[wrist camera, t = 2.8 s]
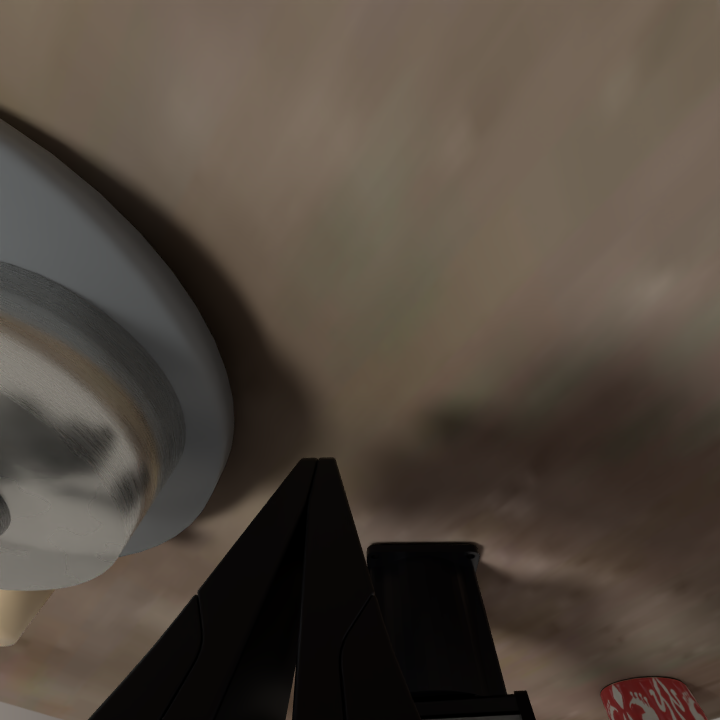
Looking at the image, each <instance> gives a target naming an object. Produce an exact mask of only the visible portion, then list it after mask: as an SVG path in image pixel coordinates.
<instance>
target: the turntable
mask: <svg viewBox="0 0 720 720" xmlns="http://www.w3.org/2000/svg"><path fill="white" fill-rule="evenodd" d="M0 262H4V263H8V264H11V265H13V266H16V267H19V268H22V269H24V270H27V271H30V272H33V273H35V274H37V275H40V276H42V277H44V278H46V279H48V280H50V281H52V282H55V283H57V284H59V285H61V286H63V287H64V288H66V289H68V290H70V291H71V292H73V293H75V294H77V295H78V296H80V297H82V298H83V299H85V300H87V301H88V302H90V303H91V304H92V305H94V306H95V307H97V308H98V309H100V310H101V311H103V312H104V313H105V314H107V315H108V316H109V317H111V318H112V319H113V320H114V321H115V322H117V323H118V324H119V325H120V326H121V327H123V328H124V329H125V330H126V331H127V332H129V333H130V334H131V335H132V336H133V337H134V338H135V339H136V340H137V341H138V342H139V343H140V344H141V345H142V346H143V347H144V348H145V349H146V351H147V352H148V353H149V354H150V355H151V357H152V358H153V359H154V360H155V362H156V363H157V364H158V365H159V366H160V368H161V369H162V371H163V372H164V374H165V376H166V377H167V379H168V380H169V382H170V383H171V385H172V387H173V389H174V391H175V393H176V395H177V397H178V399H179V402H180V405H181V408H182V411H183V414H184V420H185V426H186V442H185V447H184V452H183V455H182V457H181V459H180V461H179V464H178V465H177V467H176V468H175V470H174V471H173V473H172V474H171V476H170V477H169V479H168V481H167V482H166V484H165V485H164V487H163V488H162V490H161V491H160V493H159V495H158V496H157V498H156V499H155V501H154V502H153V504H152V505H151V507H150V508H149V510H148V512H147V513H146V515H145V516H144V518H143V519H142V521H141V522H140V524H139V526H138V527H137V529H136V530H135V532H134V533H133V535H132V536H131V538H130V539H129V541H128V543H127V544H126V546H125V547H124V549H123V550H122V552H121V553H120V555H119V557H121V556H126V555H130V554H134V553H139V552H142V551H144V550H147V549H150V548H153V547H155V546H158V545H160V544H162V543H164V542H166V541H168V540H169V539H171V538H173V537H175V536H176V535H178V534H179V533H180V532H182V531H183V530H184V529H186V528H187V527H188V526H189V525H190V524H191V523H192V522H193V521H194V520H195V519H196V518H197V517H198V515H199V514H200V513H201V512H202V511H203V509H204V507H205V505H206V504H207V502H208V500H209V498H210V496H211V495H212V493H213V491H214V489H215V486H216V484H217V482H218V480H219V478H220V476H221V474H222V472H223V470H224V468H225V466H226V463H227V460H228V457H229V454H230V451H231V447H232V442H233V433H234V424H235V423H234V408H233V397H232V393H231V389H230V384H229V380H228V376H227V371H226V369H225V366H224V364H223V361H222V358H221V356H220V353H219V351H218V348H217V345H216V343H215V340H214V338H213V336H212V335H211V333H210V331H209V329H208V327H207V325H206V323H205V322H204V320H203V318H202V316H201V314H200V312H199V310H198V308H197V307H196V305H195V304H194V302H193V301H192V299H191V298H190V296H189V295H188V293H187V292H186V291H185V289H184V288H183V286H182V285H181V283H180V282H179V280H178V279H177V277H176V276H175V275H174V273H173V272H172V270H171V269H170V268H169V267H168V265H167V264H166V263H165V262H164V261H163V260H162V258H161V257H160V256H159V255H158V254H157V252H156V251H155V250H154V249H153V248H152V246H151V245H150V244H149V243H148V242H147V241H146V239H145V238H144V237H143V236H142V235H141V233H140V232H139V231H138V230H137V229H136V228H135V227H134V226H133V225H132V224H131V223H130V222H129V221H128V220H127V219H126V218H125V217H123V216H122V215H121V214H120V213H119V212H118V211H117V210H116V209H115V208H114V207H113V206H112V205H111V204H110V203H109V202H108V201H107V200H106V199H105V198H104V197H103V196H102V195H101V194H100V193H99V192H98V191H97V190H95V189H94V188H93V187H92V186H90V185H89V184H88V183H87V182H86V181H84V180H83V179H82V178H81V177H80V176H78V175H77V174H76V173H75V172H74V171H72V170H71V169H70V168H69V167H67V166H66V165H65V164H64V163H63V162H61V161H60V160H59V159H58V158H57V157H55V156H54V155H53V154H51V153H50V152H49V151H47V150H46V149H44V148H43V147H41V146H40V145H38V144H37V143H35V142H34V141H33V140H31V139H30V138H28V137H27V136H25V135H24V134H22V133H21V132H19V131H18V130H16V129H15V128H14V127H12V126H11V125H9V124H8V123H6V122H5V121H3V120H2V119H0ZM54 591H55V589H51V590H37V591H16V590H0V646H10V645H13V644H15V643H16V642H17V640H18V639H19V638H20V636H21V635H22V634H23V632H24V631H25V630H26V628H27V627H28V626H29V624H30V623H31V622H32V620H33V619H34V618H35V616H36V615H37V614H38V612H39V611H40V609H41V608H42V607H43V605H44V604H45V603H46V601H47V600H48V599H49V597H50V596H51V595H52V593H53V592H54Z"/></svg>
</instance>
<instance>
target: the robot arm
mask: <svg viewBox="0 0 720 720" xmlns="http://www.w3.org/2000/svg"><path fill="white" fill-rule="evenodd" d="M479 557H480V556H479V552H478V548H477V547H476V546H474V545H372V546H369V547H368V548H367V564H366V561H365V557H364V554H363V551H362V547H361V544H360V540H359V537H358V534H357V530H356V527H355V524H354V520H353V517H352V513H351V510H350V507H349V503H348V500H347V496H346V493H345V490H344V486H343V483H342V480H341V476H340V473H339V469H338V466H337V463H336V460H335V458H320V459H319V460H318V459H317V458H302V459H301V460H300V461H299V462H298V463H297V465H296V466H295V467H294V468H293V470H292V471H291V472H290V474H289V475H288V476H287V477H286V479H285V480H284V481H283V483H282V484H281V485H280V486H279V488H278V489H277V490H276V492H275V493H274V494H273V495H272V497H271V498H270V499H269V500H268V502H267V503H266V504H265V506H264V507H263V508H262V509H261V511H260V512H259V513H258V515H257V516H256V517H255V518H254V520H253V521H252V522H251V523H250V525H249V526H248V527H247V529H246V530H245V531H244V532H243V534H242V535H241V536H240V538H239V539H238V540H237V541H236V543H235V544H234V545H233V547H232V548H231V549H230V550H229V552H228V553H227V554H226V555H225V557H224V558H223V559H222V561H221V562H220V563H219V564H218V566H217V567H216V568H215V570H214V571H213V572H212V573H211V575H210V576H209V577H208V578H207V580H206V581H205V582H204V584H203V585H202V586H201V587H200V589H199V590H198V592H197V594H198V595H194V596H193V597H192V599H191V600H190V601H189V602H188V604H187V605H186V606H185V608H184V609H183V610H182V611H181V613H180V614H179V615H178V617H177V618H176V619H175V620H174V621H173V623H172V624H171V625H170V626H169V628H168V629H167V630H166V631H165V632H164V634H163V635H162V636H161V637H160V639H159V640H158V641H157V642H156V644H155V645H154V646H153V647H152V648H151V649H150V651H149V652H148V653H147V654H146V655H145V656H144V657H143V659H142V660H141V661H140V662H139V663H138V664H137V665H136V667H135V668H134V669H133V670H132V671H131V672H130V673H129V675H128V676H127V677H126V678H125V679H124V680H123V681H122V682H121V684H120V685H119V686H118V687H117V688H116V689H115V690H114V691H113V692H112V694H111V695H110V696H109V697H108V698H107V699H106V700H105V701H104V702H103V703H102V705H101V706H100V707H99V708H98V709H97V710H96V711H95V712H94V713H93V715H92V716H91V717H90V718H89V719H88V720H285V719H286V714H287V709H288V703H289V698H290V693H291V688H292V682H293V677H294V672H295V667H296V672H295V686H294V701H293V715H292V720H536V719H535V716H534V713H533V710H532V706H531V703H530V700H529V697H528V694H527V691H514V694H507V692H506V688H505V684H504V680H503V676H502V673H501V669H500V665H499V661H498V657H497V653H496V650H495V646H494V642H493V638H492V634H491V631H490V627H489V623H488V619H487V615H486V612H485V608H484V604H483V600H482V596H481V592H480V589H479V585H478V581H477V577H476V569H477V565H478V561H479Z"/></svg>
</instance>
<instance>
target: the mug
mask: <svg viewBox="0 0 720 720" xmlns="http://www.w3.org/2000/svg"><path fill="white" fill-rule="evenodd" d="M600 696H601V698H602V701H603V704H604V707H605V709H606V712H607V714H608V717H609V719H610V720H708V718H707V717H706V715H705V714H704V712H703V711H702V709H701V707H700V706H699V704H698V703H697V701H696V700H695V698H694V697H693V695H692V694H691V692H690V691H689V689H688V688H687V686H686V685H685V684H683V683H682V682H680V681H678V680H675V679H671V678H664V677H643V678H634V679H627V680H623V681H619V682H616V683H613V684H611V685H609V686H607V687H606V688H604V689H603V690H602V691H601V695H600Z"/></svg>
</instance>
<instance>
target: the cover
mask: <svg viewBox="0 0 720 720" xmlns="http://www.w3.org/2000/svg"><path fill="white" fill-rule="evenodd" d="M185 442H186V426H185V420H184V414H183V411H182V408H181V405H180V402H179V399H178V397H177V395H176V393H175V391H174V389H173V387H172V385H171V383H170V382H169V380H168V379H167V377H166V376H165V374H164V372H163V371H162V369H161V368H160V366H159V365H158V364H157V363H156V362H155V360H154V359H153V358H152V357H151V355H150V354H149V353H148V352H147V351H146V349H145V348H144V347H143V346H142V345H141V344H140V343H139V342H138V341H137V340H136V339H135V338H134V337H133V336H132V335H131V334H130V333H129V332H127V331H126V330H125V329H124V328H123V327H121V326H120V325H119V324H118V323H117V322H115V321H114V320H113V319H112V318H111V317H109V316H108V315H107V314H105V313H104V312H103V311H101V310H100V309H98V308H97V307H95V306H94V305H92V304H91V303H90V302H88V301H87V300H85V299H83V298H82V297H80V296H78V295H77V294H75V293H73V292H71V291H70V290H68V289H66V288H64V287H63V286H61V285H59V284H57V283H55V282H52V281H50V280H48V279H46V278H44V277H42V276H40V275H37V274H35V273H33V272H30V271H27V270H24V269H22V268H19V267H16V266H13V265H11V264H8V263H4V262H0V590H16V591H37V590H51V589H60V588H65V587H70V586H74V585H78V584H81V583H84V582H87V581H90V580H92V579H94V578H95V577H97V576H99V575H101V574H103V573H104V572H105V571H106V570H107V569H109V568H110V567H111V566H112V565H113V563H114V562H115V561H116V559H117V558H118V557H119V555H120V553H121V552H122V550H123V549H124V547H125V546H126V544H127V543H128V541H129V539H130V538H131V536H132V535H133V533H134V532H135V530H136V529H137V527H138V526H139V524H140V522H141V521H142V519H143V518H144V516H145V515H146V513H147V512H148V510H149V508H150V507H151V505H152V504H153V502H154V501H155V499H156V498H157V496H158V495H159V493H160V491H161V490H162V488H163V487H164V485H165V484H166V482H167V481H168V479H169V477H170V476H171V474H172V473H173V471H174V470H175V468H176V467H177V465H178V464H179V461H180V459H181V457H182V455H183V452H184V447H185Z"/></svg>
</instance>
